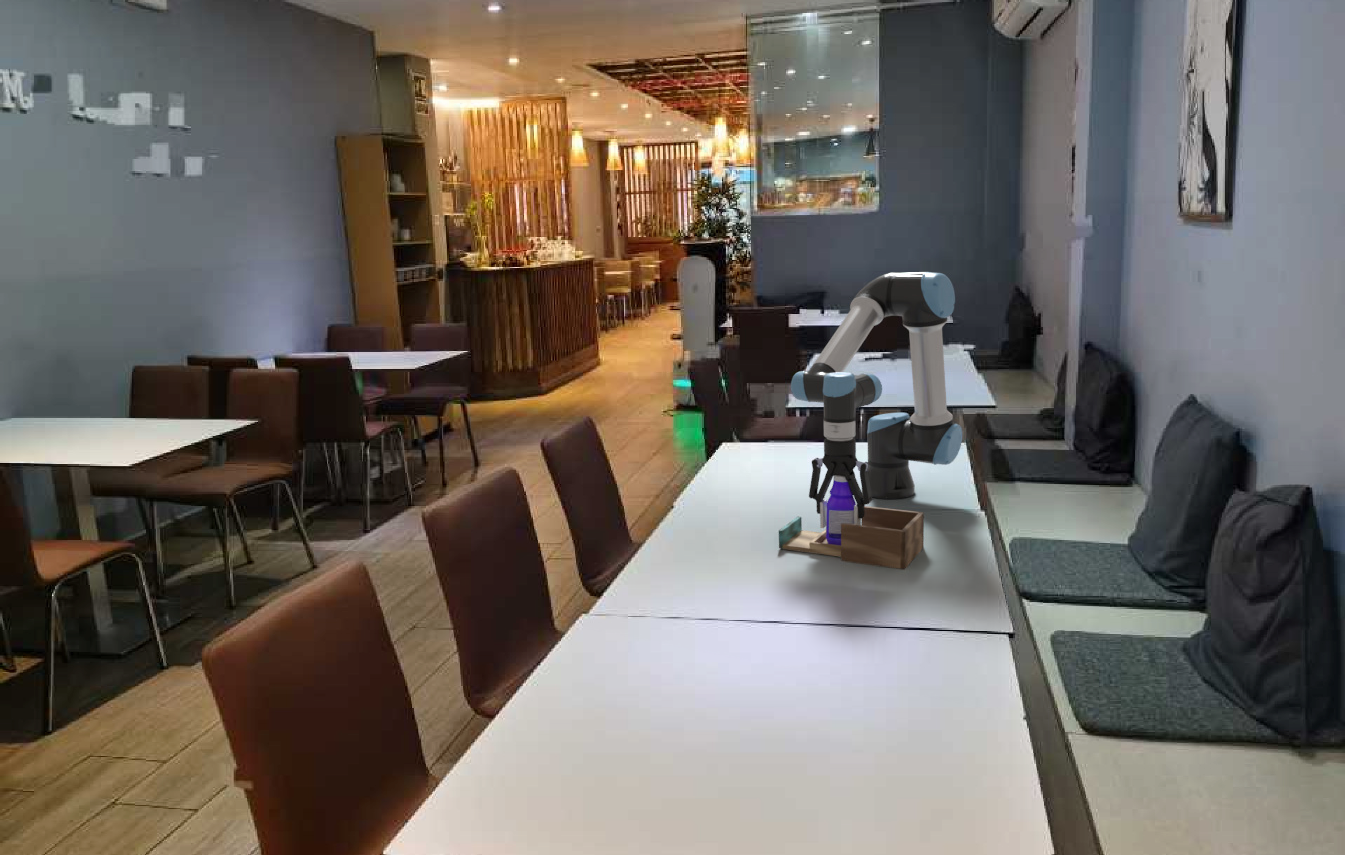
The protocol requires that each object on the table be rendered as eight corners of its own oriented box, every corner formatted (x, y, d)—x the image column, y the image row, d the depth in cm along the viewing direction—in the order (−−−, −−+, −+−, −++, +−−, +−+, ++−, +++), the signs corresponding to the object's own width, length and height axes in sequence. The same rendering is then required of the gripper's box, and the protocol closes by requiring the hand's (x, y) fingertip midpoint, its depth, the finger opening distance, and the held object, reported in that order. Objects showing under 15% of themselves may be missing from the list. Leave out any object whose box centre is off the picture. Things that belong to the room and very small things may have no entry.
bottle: (854, 539, 239) (855, 471, 235) (856, 547, 233) (858, 477, 229) (825, 539, 239) (825, 471, 236) (826, 547, 234) (827, 477, 230)
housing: (862, 540, 242) (862, 505, 240) (923, 547, 234) (923, 512, 233) (841, 560, 228) (840, 524, 226) (904, 569, 221) (904, 531, 219)
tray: (798, 533, 248) (797, 516, 247) (878, 543, 238) (878, 525, 237) (779, 548, 238) (778, 530, 237) (862, 559, 227) (862, 541, 227)
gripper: (793, 437, 233) (795, 528, 237) (877, 444, 222) (877, 538, 227) (804, 431, 239) (806, 519, 244) (886, 437, 229) (886, 528, 234)
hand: (840, 528), depth 235 cm, fingers open, 8 cm apart
